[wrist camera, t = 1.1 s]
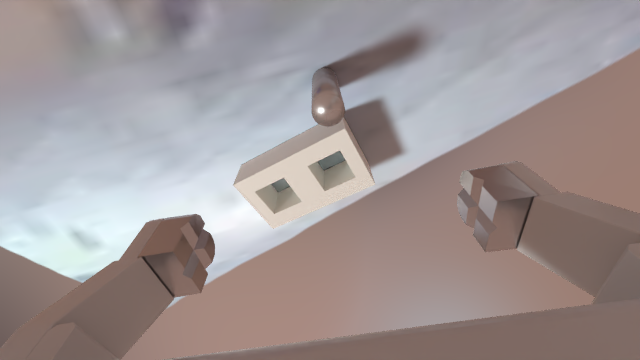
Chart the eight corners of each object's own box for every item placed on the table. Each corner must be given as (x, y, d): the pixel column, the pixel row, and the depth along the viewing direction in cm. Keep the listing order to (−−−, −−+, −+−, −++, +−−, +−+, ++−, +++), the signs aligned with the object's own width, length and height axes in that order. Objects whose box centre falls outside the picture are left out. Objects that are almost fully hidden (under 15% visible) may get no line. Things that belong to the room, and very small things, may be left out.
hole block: (341, 112, 36) (344, 128, 31) (368, 164, 40) (375, 184, 36) (241, 164, 40) (233, 185, 36) (276, 206, 44) (273, 228, 40)
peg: (329, 62, 32) (335, 88, 24) (341, 85, 34) (350, 117, 25) (307, 75, 33) (305, 105, 25) (319, 97, 34) (321, 131, 26)
